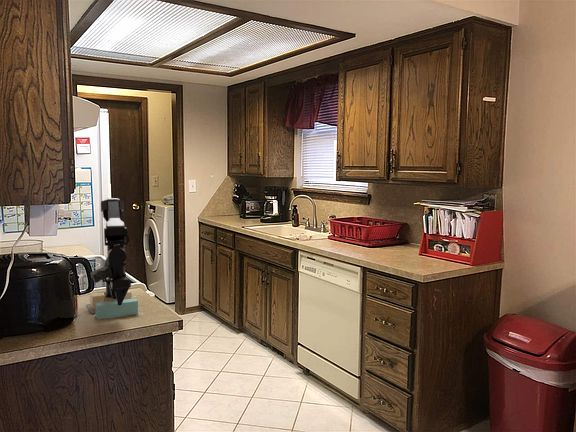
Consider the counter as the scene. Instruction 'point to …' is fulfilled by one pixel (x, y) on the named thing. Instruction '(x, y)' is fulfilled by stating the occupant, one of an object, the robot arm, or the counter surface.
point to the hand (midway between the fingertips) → (116, 302)
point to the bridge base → (100, 300)
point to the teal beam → (116, 308)
